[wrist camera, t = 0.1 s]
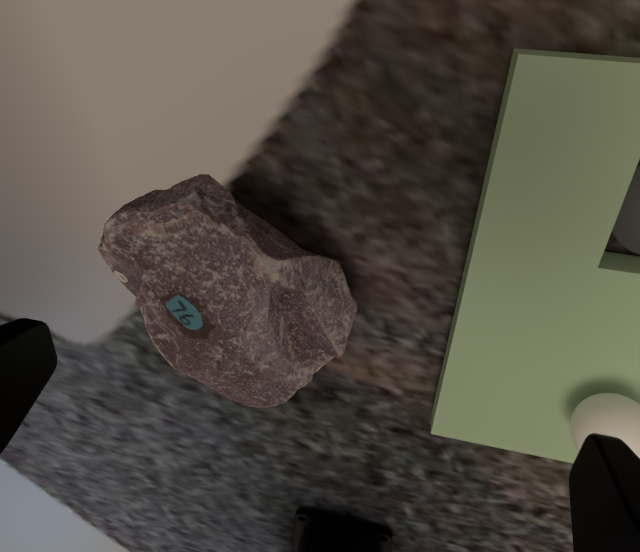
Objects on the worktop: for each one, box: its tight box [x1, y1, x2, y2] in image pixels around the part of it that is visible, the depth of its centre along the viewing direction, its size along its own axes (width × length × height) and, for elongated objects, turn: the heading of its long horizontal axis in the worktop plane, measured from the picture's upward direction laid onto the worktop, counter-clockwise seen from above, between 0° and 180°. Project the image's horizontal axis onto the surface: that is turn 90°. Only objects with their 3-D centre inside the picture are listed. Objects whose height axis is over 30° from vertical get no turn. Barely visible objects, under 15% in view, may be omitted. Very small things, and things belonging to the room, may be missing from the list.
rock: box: [98, 174, 357, 408], centre depth 23 cm, size 8×11×5 cm
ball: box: [570, 393, 640, 458], centre depth 21 cm, size 3×3×3 cm
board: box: [431, 48, 640, 463], centre depth 21 cm, size 18×14×2 cm
